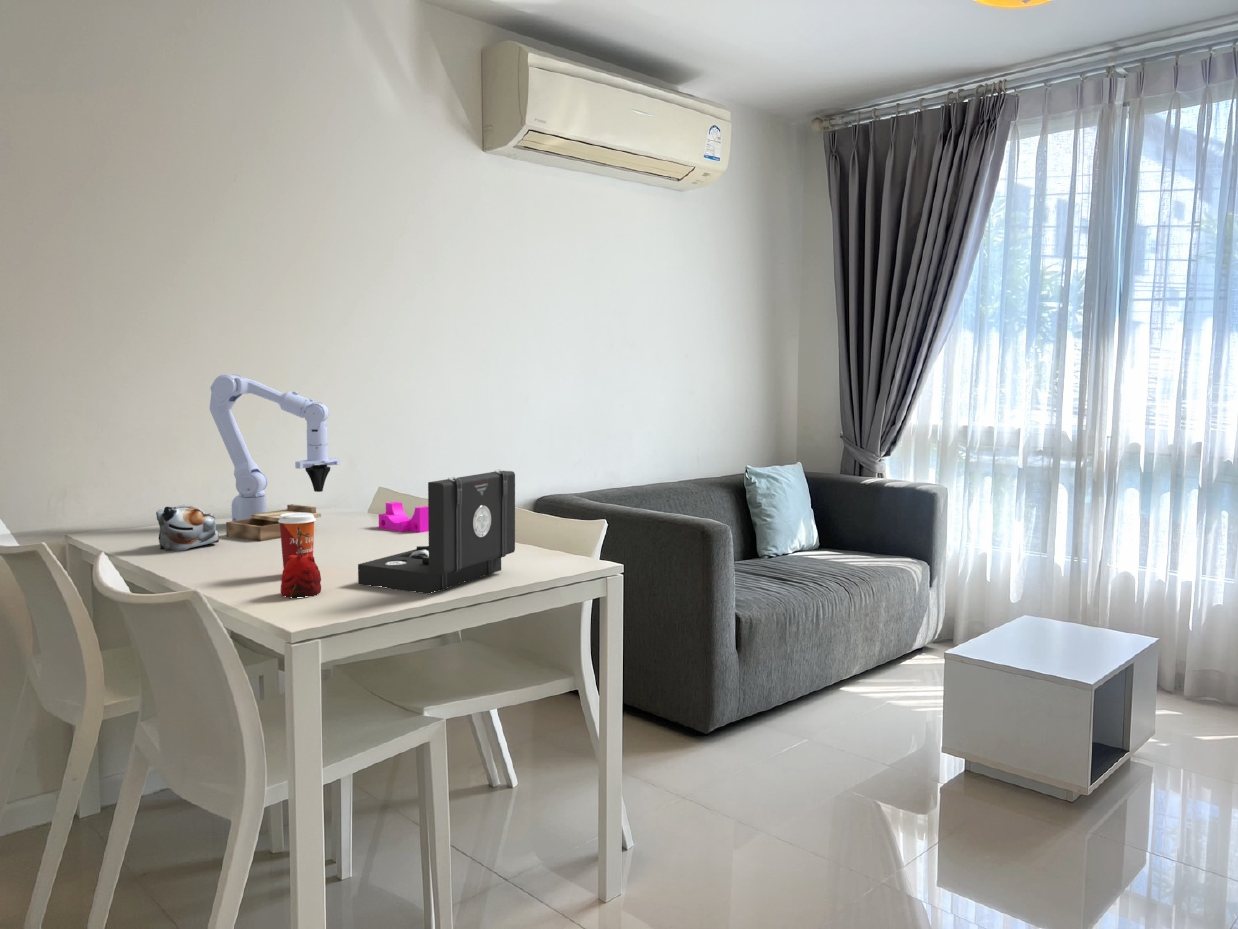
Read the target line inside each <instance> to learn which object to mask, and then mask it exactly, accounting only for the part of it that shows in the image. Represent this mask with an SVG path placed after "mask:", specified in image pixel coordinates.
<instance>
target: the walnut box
mask: <svg viewBox="0 0 1238 929" xmlns="http://www.w3.org/2000/svg"><path fill="white" fill-rule="evenodd" d="M225 526H226V527H225V529H226V530H225V532H226V537H227V538H235V539H241V540H247V539H248V540H247V541H255V542H265V541H271V540H277V539H281V533H280V523H279V522H277V521H269V520H262V519H255V518H251V519H244V520H238V521H232V520H230V521H226V522H225Z"/></svg>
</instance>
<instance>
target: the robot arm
mask: <svg viewBox="0 0 1238 929" xmlns="http://www.w3.org/2000/svg"><path fill="white" fill-rule="evenodd" d="M209 389H210V392H211V393H210V401H209V412H210V414H211V417H212V419H213V421H214V424H215V425H216V428H217V430H218V432H219V434H220V437H221V439H222V441H223V443H224V447H225V448H226V450H227V452H228V455H229V457H230V458H229V459H231V461H232V464H233V466H234V470H233V475H234V479H235V489H236V491H237V492H238V495H236V496H234V498H233V499H232V501H231V521H238V520H244V519H251V518H252V515H251V514H258V513H265V512H267V505H266V504H267V502H266V500H267V499H266V498H267V497H266V492H265V490H266V488H267V486H268V482H269V481H268V477H267V476H266V474H265V473H264V472H262V470H261V469H260V467H259V466H258V464H257V463H256V462H255V460H253V458H252V455H251V453H250V451H249V448H248V446H247V444H246V442H245V439H244V437H243V435H242V432H241V430H240V427H239V425H238V424H237V421H236V419H235V416H234V414H233V412H232V409H233V407H234V405H235V403H236V401H237V400H238V399H239V398H240V397H241V396H242V395H246V394H247V395H248V394H252V395H256V396H258V397H261V398H263V399H265V400H268V401H271V402H274V403H275V404H278V405H279V408H280V409H281V410H282V411H285V412H287V413H290V414H292V415H294V416H296V417H299V418H301V419H303V418H304V420H305V421H306V457H307V458H306V459H305V460H304V459H303V460H299V461H298V460H297V461H295V462H294V463H295V464H294V465H295V469H299V470H301V469H304V470H305V472H306V473H307V475H308V477H309V479H310V481H311V484H312V487H313V491H314V492H317V493H321V492H323V491H324V487H325V482H326V479H327V477H328V475H329V473H330V471H331V466H338V465H340V458H339V457H330V458H329V444H328V443H329V442H328V440H329V439H328V438H329V437H328V421H327V419H328V418H329V416H330V410H329V408H328V406H326V405H325V404H324V403H323V402H320V401H317V402H315V399H314V398H307V397H305V396H302V395H299V392H298V391H296V390H293V391H291V390H289V391H287V392H284V393H283V392H281V391H279V390H277V389H274V388H272V387H270V386H268V385H265V384H264V383H261V382H259V381H258V380H255V379H251V378H249V377H245V376H241V375H239V374H219V375H218V376H217V377H216V378H215V379H214V380H213V382H212V384H211V386H210V388H209Z"/></svg>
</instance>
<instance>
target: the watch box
mask: <svg viewBox="0 0 1238 929" xmlns="http://www.w3.org/2000/svg"><path fill="white" fill-rule="evenodd" d="M427 488H428V489H427V498H428V499H427V501H428V502H427V503H428V504H427V505H428V545H426V546H425V545H421V546H419V545H418V546H416V548H415V549H412V550H407V551H404V552H400V553H396V554H391V555H388V556H385V557H380V558H377V559H373V560H369V561H365V562H362V563H357V581H358V582H357V583H358V584H363V585H362V586H364V585H371V586H370V587H372V586H382V587H387V588H391V589H390V590H395V589H397V590H396V591H402V590H404V591H403V592H410V591H416V592H415V593H418V592H423V593H422V594H425V593H431V592H434V591H437V592H440V591H444V590H447V589H448V588H447V587H449V588H451V587H450V586H452V587H454V585H455V586H458V585H460V584H459V583H461V584H463V583H462V582H464V581H467V582H470V581H473V580H476V579H479V578H478V577H480V576H483V575H486V576H489V575H493V574H494V573H498V572H500V571H502V558H505V557H506V556H507V555H509V554H513V553H515V552H516V551H515V550H516V474H515V472H514V471H512V470H511V471H510V470H502V469H494V471H490V472H485V473H478V474H471V475H464V476H459V477H456V476H449V477H447V479H442V480H439V479H438V480H434V481H428V482H427ZM483 577H484V576H483ZM475 578H476V579H475ZM480 578H481V577H480ZM472 579H473V580H472ZM469 580H470V581H469ZM464 583H465V582H464ZM457 584H458V585H457ZM387 588H386V589H387ZM446 588H447V589H446ZM443 589H444V590H443ZM439 590H440V591H439ZM434 593H435V592H434ZM431 594H432V593H431Z"/></svg>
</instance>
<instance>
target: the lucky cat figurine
mask: <svg viewBox="0 0 1238 929" xmlns="http://www.w3.org/2000/svg"><path fill="white" fill-rule="evenodd" d="M163 508H164V509H163ZM163 508H160V509H158V510H157V511H156V512H155V514H156V520H157V522H158V525H159V534H158V543H159V547H160V548H159V549H160V550H165V551H168V552H172V551H173V552H184V551H186V550H189V549H193V548H195V547H200V546H204V545H208V544H215V543H219V542H220V537H219V531H218V530H217V529H216V528H217V524H216V516H215V514H212V513H211V512H209V513H208V512H205V510H203V509H201V508H199V507H197V506H195V505H193V504H180V505H176V506H173V507H172V506H165V507H163Z"/></svg>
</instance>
